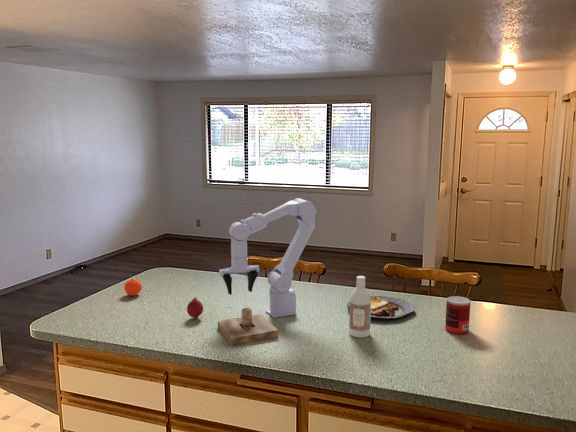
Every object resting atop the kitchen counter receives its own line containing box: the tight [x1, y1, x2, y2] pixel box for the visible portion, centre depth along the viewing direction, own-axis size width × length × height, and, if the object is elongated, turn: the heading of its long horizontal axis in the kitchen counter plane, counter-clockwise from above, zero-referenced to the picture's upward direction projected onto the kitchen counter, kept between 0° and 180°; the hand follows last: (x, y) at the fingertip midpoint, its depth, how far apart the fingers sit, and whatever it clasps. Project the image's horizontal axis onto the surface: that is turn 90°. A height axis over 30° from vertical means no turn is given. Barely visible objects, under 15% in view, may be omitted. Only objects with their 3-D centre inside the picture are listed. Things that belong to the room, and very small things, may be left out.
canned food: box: [444, 295, 471, 336], centre depth 171 cm, size 8×8×11 cm
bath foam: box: [348, 275, 372, 339], centre depth 167 cm, size 7×7×20 cm
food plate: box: [346, 294, 415, 320], centre depth 191 cm, size 25×23×4 cm
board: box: [217, 313, 279, 347], centre depth 171 cm, size 16×16×2 cm
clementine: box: [124, 278, 143, 296], centre depth 210 cm, size 8×7×7 cm
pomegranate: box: [186, 296, 204, 319], centre depth 183 cm, size 6×6×8 cm
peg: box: [241, 307, 253, 329], centre depth 170 cm, size 3×3×8 cm
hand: (240, 292), depth 182 cm, fingers open, 7 cm apart
